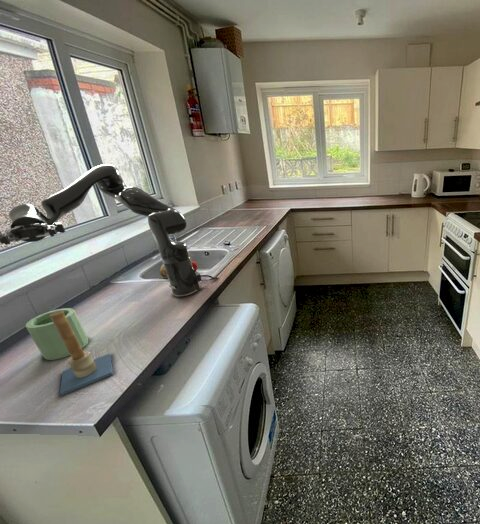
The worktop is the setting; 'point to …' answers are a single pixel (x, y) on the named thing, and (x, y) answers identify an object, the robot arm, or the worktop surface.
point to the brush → (73, 347)
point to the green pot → (54, 334)
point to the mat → (73, 382)
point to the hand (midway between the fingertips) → (28, 236)
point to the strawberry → (194, 265)
